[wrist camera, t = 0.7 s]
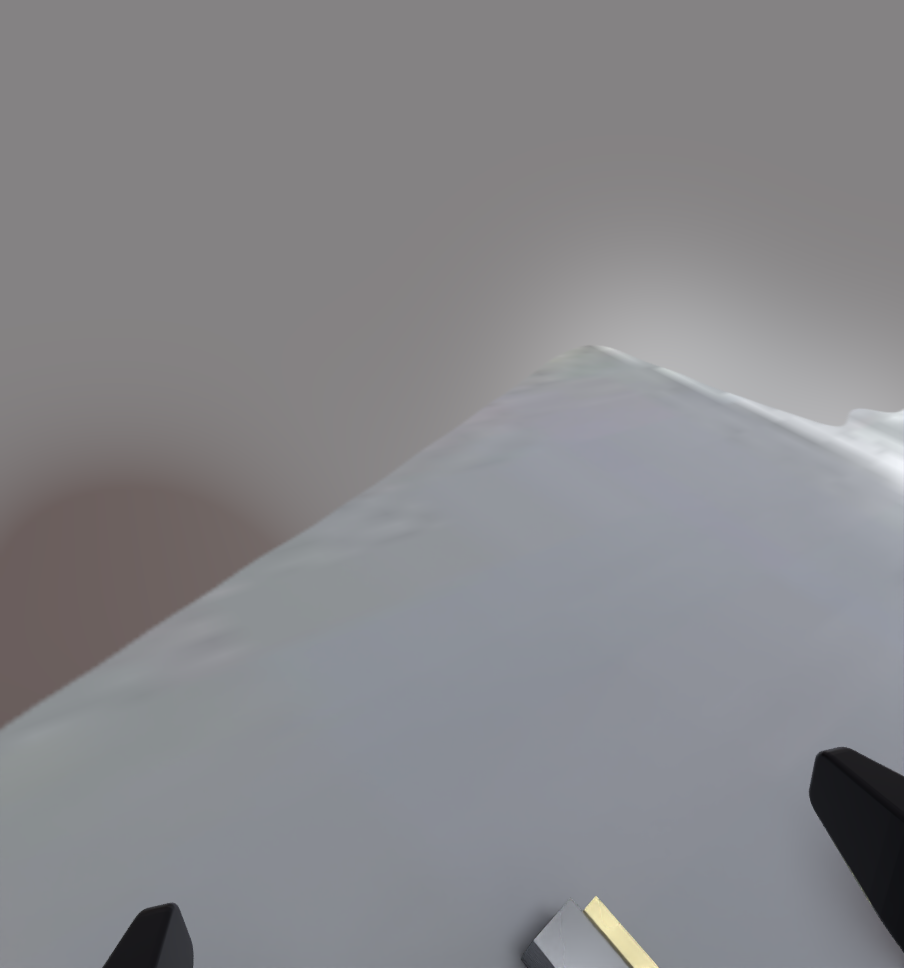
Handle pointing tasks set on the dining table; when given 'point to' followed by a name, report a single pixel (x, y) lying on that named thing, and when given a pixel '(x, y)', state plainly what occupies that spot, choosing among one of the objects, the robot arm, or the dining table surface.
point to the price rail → (585, 941)
